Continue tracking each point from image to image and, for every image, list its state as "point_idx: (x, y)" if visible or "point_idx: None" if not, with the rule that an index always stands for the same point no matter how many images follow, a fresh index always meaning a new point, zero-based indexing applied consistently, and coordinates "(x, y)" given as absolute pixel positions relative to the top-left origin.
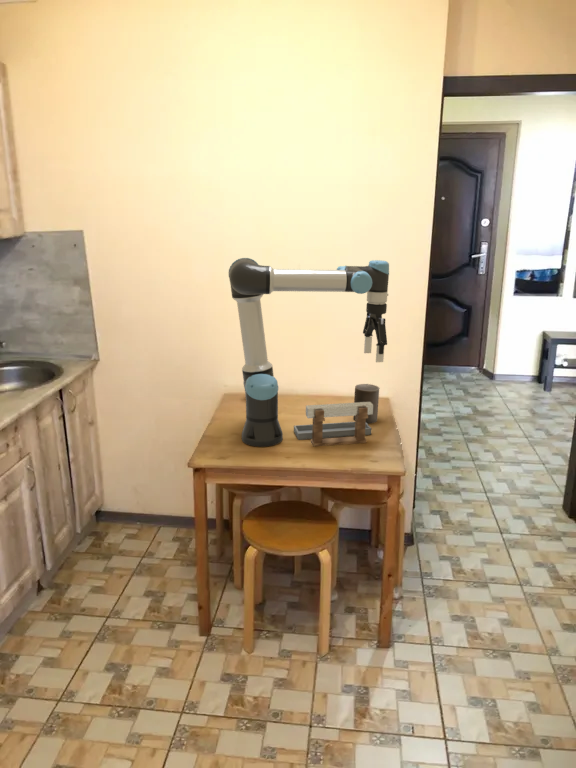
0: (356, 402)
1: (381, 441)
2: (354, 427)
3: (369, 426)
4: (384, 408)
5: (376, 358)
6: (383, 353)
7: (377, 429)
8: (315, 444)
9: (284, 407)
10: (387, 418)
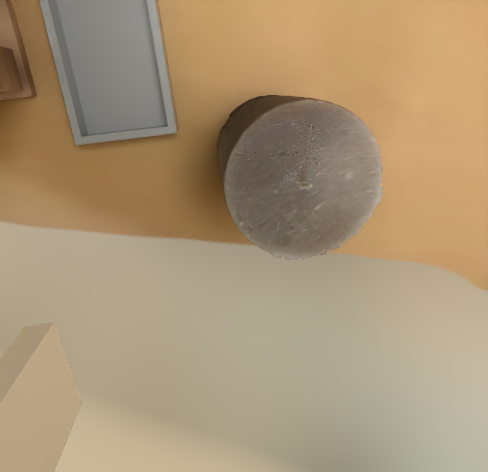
0: (261, 103)
1: (11, 171)
2: (156, 77)
3: (103, 141)
4: (388, 255)
5: (7, 361)
6: None
7: (149, 181)
8: None
9: None
10: None
